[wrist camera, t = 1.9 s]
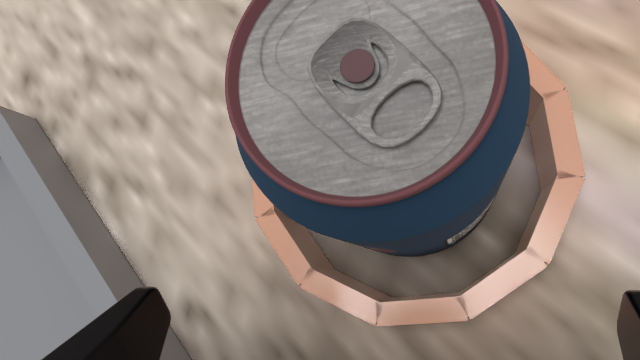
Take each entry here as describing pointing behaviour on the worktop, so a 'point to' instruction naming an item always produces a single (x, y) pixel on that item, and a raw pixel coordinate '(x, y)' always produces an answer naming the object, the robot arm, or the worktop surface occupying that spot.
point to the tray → (52, 250)
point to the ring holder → (529, 259)
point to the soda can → (379, 114)
